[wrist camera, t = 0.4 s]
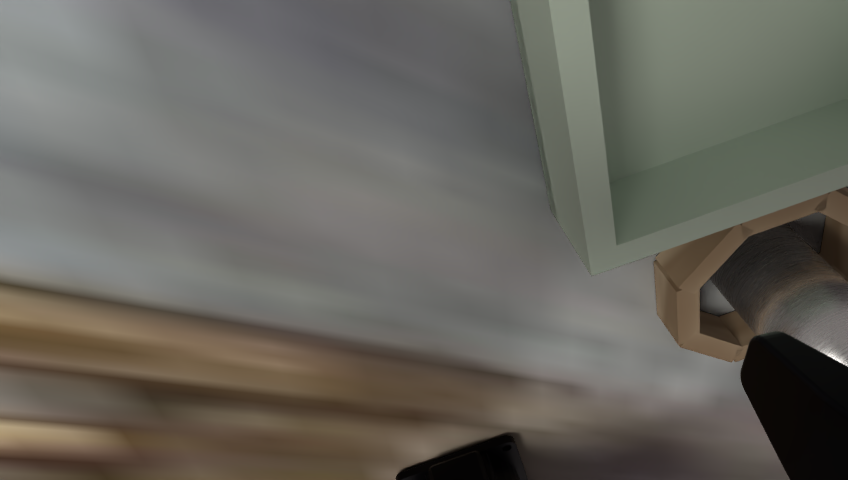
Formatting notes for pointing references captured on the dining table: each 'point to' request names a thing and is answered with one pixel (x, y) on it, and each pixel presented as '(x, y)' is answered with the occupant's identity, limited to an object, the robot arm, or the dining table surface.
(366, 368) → the dining table surface
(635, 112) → the bin
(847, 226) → the socket ring
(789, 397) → the robot arm
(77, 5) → the dining table surface
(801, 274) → the strut
